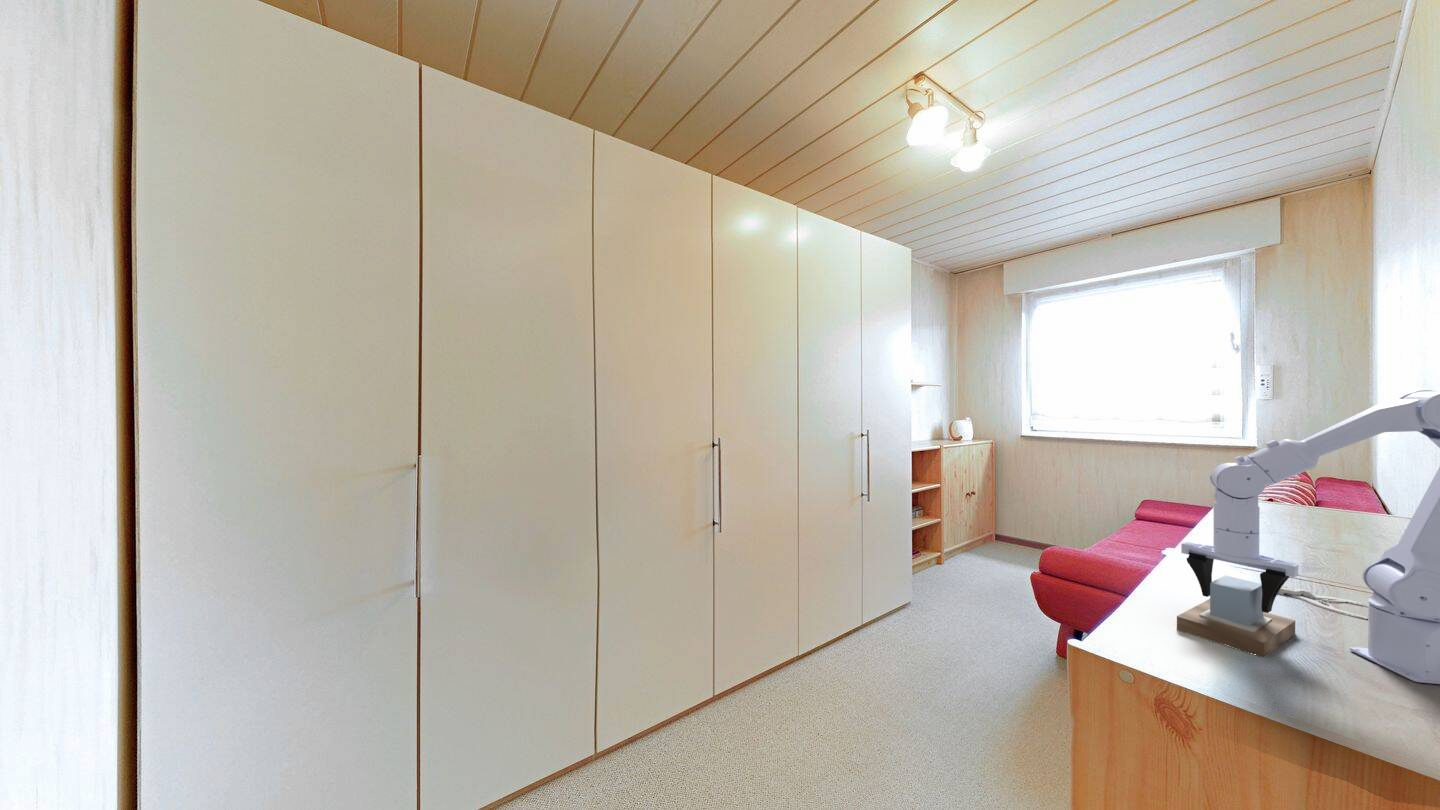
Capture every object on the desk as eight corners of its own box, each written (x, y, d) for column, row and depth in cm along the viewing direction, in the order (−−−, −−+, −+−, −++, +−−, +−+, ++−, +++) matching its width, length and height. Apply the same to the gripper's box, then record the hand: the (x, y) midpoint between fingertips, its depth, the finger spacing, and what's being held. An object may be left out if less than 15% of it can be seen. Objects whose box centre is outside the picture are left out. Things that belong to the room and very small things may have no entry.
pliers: (1370, 614, 91) (1255, 587, 104) (1370, 622, 91) (1255, 594, 104) (1382, 603, 95) (1271, 578, 109) (1382, 611, 95) (1271, 585, 109)
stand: (1211, 610, 96) (1211, 596, 96) (1295, 633, 86) (1295, 618, 86) (1176, 629, 89) (1176, 614, 89) (1263, 657, 79) (1263, 641, 79)
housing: (1249, 626, 84) (1249, 592, 84) (1210, 614, 88) (1210, 582, 88) (1264, 615, 88) (1265, 583, 88) (1226, 605, 92) (1226, 574, 92)
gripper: (1304, 535, 83) (1303, 613, 83) (1192, 517, 95) (1192, 584, 96) (1290, 542, 79) (1290, 623, 80) (1176, 522, 92) (1176, 592, 93)
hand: (1235, 602), depth 87 cm, fingers open, 7 cm apart
